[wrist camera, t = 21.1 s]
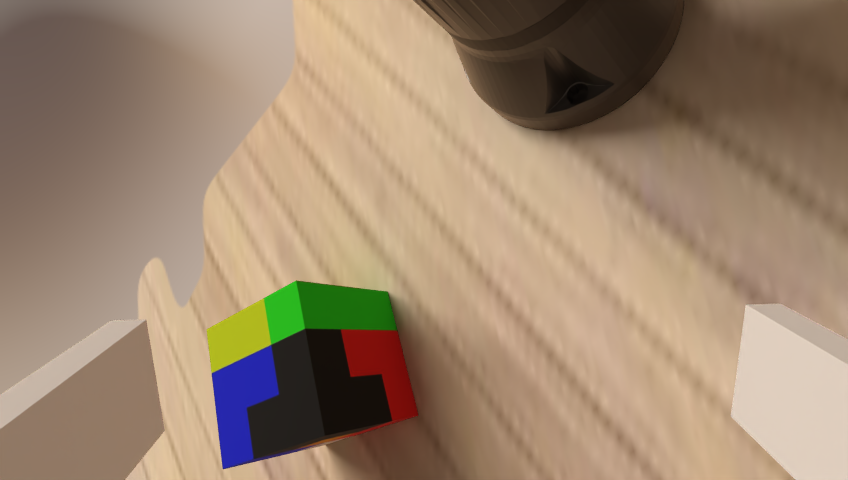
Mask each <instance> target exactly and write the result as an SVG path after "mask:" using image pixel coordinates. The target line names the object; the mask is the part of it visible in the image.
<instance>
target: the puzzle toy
mask: <svg viewBox="0 0 848 480" xmlns="http://www.w3.org/2000/svg"><path fill="white" fill-rule="evenodd" d="M207 337H208V345H209V354H210V362H211V371H212V380H213V388H214V397H215V406H216V414H217V423H218V432H219V440H220V449H221V458H222V466H223V469H226V468H230V467H235V466H239V465H243V464H247V463H251V462H256V461H260V460H264V459H268V458H272V457H277V456H281V455H285V454H289V453H293V452H298V451H302V450H306V449H310V448H314V447H318V446H323V445H327V444H330V443H333V442H336V441H339V440H342V439H346V438H349V437H352V436H355V435H358V434H361V433H365V432H368V431H371V430H374V429H377V428H380V427H384V426H387V425H390V424H393V423H396V422H399V421H403V420H406V419H409V418H412V417H415V416H418V411H417V407H416V403H415V399H414V395H413V391H412V387H411V383H410V379H409V375H408V371H407V367H406V363H405V359H404V355H403V351H402V347H401V343H400V339H399V335H398V331H397V327H396V323H395V319H394V315H393V311H392V307H391V303H390V299H389V295H388V292H386V291H377V290H369V289H361V288H353V287H344V286H336V285H328V284H320V283H311V282H303V281H295V282H293V283H291V284H289V285H287V286H285V287H284V288H282V289H280V290H278V291H276V292H274V293H273V294H271V295H269V296H267V297H265V298H263V299H262V300H260V301H258V302H256V303H254V304H252V305H251V306H249V307H247V308H245V309H243V310H241V311H240V312H238V313H236V314H234V315H232V316H230V317H229V318H227V319H225V320H223V321H221V322H219V323H218V324H216V325H214V326H212V327H210V328H208V329H207Z"/></svg>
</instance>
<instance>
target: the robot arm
mask: <svg viewBox="0 0 848 480" xmlns="http://www.w3.org/2000/svg"><path fill="white" fill-rule="evenodd" d="M413 1H414V2H416V3H417V4H418V5H419V6H420V7H421V8H422V9H423V10H424V11H425V12H426V13H427V14H428V15H430V16H431V17H432V18H433V19H434V20H435V21H436V22H437V23H438V24H439V25H440V26H442V27H443V28H444V29H445V30H446V31H447V32H448V33H449V34H450V35H451V36H452V39H453V42H454V44H455V47H456V49H457V52H458V55H459V57H460V60H461V62H462V64H463V67H464V71H465V73H466V76H467V78H468V80H469V82H470V84H471V85H472V87H473V89H474V90H475V91H476V93H477V94H478V95H479V97H480V98H481V99H482V100H483V101H484V102H485V103H486V104H488V105H489V106H490V107H491V108H492V109H494V110H495V111H496V112H497V113H498V114H500V115H501V116H502V117H504V118H506V119H507V120H509V121H511V122H513V123H515V124H518V125H520V126H524V127H528V128H533V129H541V130H556V129H564V128H570V127H574V126H578V125H581V124H585V123H588V122H590V121H593V120H595V119H597V118H599V117H602V116H604V115H606V114H607V113H609V112H611V111H613V110H614V109H616V108H617V107H619V106H621V105H622V104H623V103H625V102H626V101H627V100H629V99H630V98H631V97H632V96H634V95H635V94H636V93H637V92H638V91H639V90H640V89H641V88H642V87H643V86H644V85H645V84H646V83H647V82H648V81H649V80H650V79H651V78H652V76H653V75H654V74H655V73H656V71H657V70H658V69H659V67H660V66H661V65H662V63H663V61H664V60H665V58H666V57H667V55H668V53H669V51H670V49H671V47H672V45H673V43H674V41H675V38H676V36H677V33H678V30H679V27H680V23H681V19H682V14H683V6H684V0H413ZM731 417H732V418H733V419H734V420H735V421H736V422H737V423H738V424H739V425H740V426H741V427H742V428H743V429H744V430H745V431H746V432H747V433H748V434H749V435H750V436H751V437H752V438H753V439H754V440H755V441H756V442H757V443H759V444H760V445H761V446H762V447H763V448H764V449H765V450H766V451H767V452H768V453H769V454H770V455H771V456H772V457H773V458H774V459H775V460H776V461H777V462H778V463H779V464H780V465H781V466H782V467H783V468H784V469H785V470H786V471H787V472H788V473H789V474H790V475H791V476H792V477H793V478H794V479H795V480H848V339H847V338H845V337H843V336H841V335H839V334H837V333H835V332H834V331H832V330H830V329H828V328H826V327H824V326H822V325H820V324H818V323H817V322H815V321H813V320H811V319H809V318H807V317H805V316H803V315H801V314H800V313H798V312H796V311H794V310H792V309H790V308H788V307H786V306H784V305H783V304H746V307H745V315H744V322H743V330H742V337H741V344H740V352H739V359H738V367H737V374H736V382H735V389H734V396H733V404H732V411H731ZM164 431H165V430H164V424H163V418H162V412H161V406H160V400H159V394H158V387H157V381H156V375H155V369H154V363H153V357H152V351H151V345H150V339H149V333H148V327H147V321H146V320H112V321H110V322H108V323H107V324H105V325H104V326H102V327H101V328H99V329H98V330H96V331H95V332H93V333H92V334H90V335H89V336H87V337H86V338H84V339H83V340H81V341H80V342H78V343H77V344H75V345H74V346H72V347H71V348H69V349H68V350H66V351H65V352H63V353H62V354H60V355H59V356H57V357H56V358H54V359H53V360H51V361H50V362H49V363H47V364H45V365H44V366H42V367H41V368H39V369H38V370H36V371H35V372H33V373H32V374H30V375H29V376H28V377H26V378H24V379H23V380H21V381H20V382H18V383H17V384H15V385H14V386H13V387H11V388H10V389H8V390H7V391H5V392H4V393H2V394H1V395H0V480H125V479H126V478H127V476H128V475H129V474H130V473H131V472H132V470H133V469H134V468H135V467H136V465H137V464H138V463H139V462H140V460H141V459H142V458H143V457H144V455H145V454H146V453H147V452H148V450H149V449H150V448H151V447H152V446H153V444H154V443H155V442H156V441H157V439H158V438H159V437H160V436H161V434H162V433H163V432H164Z"/></svg>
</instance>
